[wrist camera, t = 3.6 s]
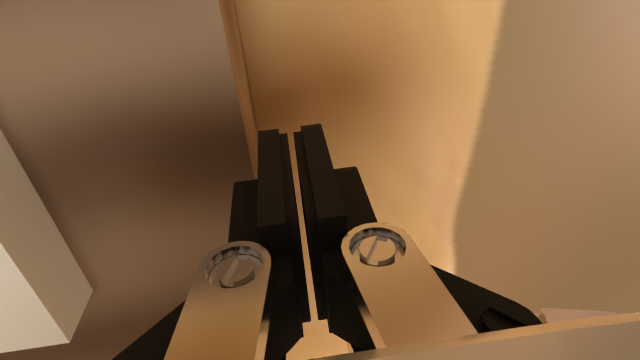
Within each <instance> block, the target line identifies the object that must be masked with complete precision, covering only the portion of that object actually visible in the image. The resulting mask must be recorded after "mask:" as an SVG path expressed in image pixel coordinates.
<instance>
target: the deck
mask: <svg viewBox="0 0 640 360" xmlns="http://www.w3.org/2000/svg"><path fill="white" fill-rule="evenodd" d="M0 129H1V131H2V132H3V134H4V136H5V138H6V139H7V141H8V143H9V145H10V146H11V148H12V150H13V152H14V153H15V155H16V157H17V159H18V160H19V162H20V164H21V166H22V167H23V169H24V171H25V173H26V174H27V176H28V178H29V180H30V181H31V183H32V185H33V187H34V188H35V190H36V192H37V193H38V195H39V197H40V199H41V200H42V202H43V204H44V206H45V207H46V209H47V211H48V213H49V214H50V216H51V218H52V220H53V221H54V223H55V225H56V227H57V228H58V230H59V232H60V234H61V235H62V237H63V239H64V241H65V242H66V244H67V246H68V248H69V249H70V251H71V253H72V254H73V256H74V258H75V260H76V261H77V263H78V265H79V267H80V268H81V270H82V272H83V274H84V275H85V277H86V279H87V281H88V282H89V284H90V286H91V288H92V289H93V291H92V294H91V296H90V298H89V300H88V303H87V305H86V307H85V309H84V312H83V314H82V316H81V318H80V321H79V323H78V325H77V327H76V330H75V332H74V334H73V336H72V339H71V341H70V343H65V344H58V345H51V346H45V347H38V348H31V349H25V350H18V351H11V352H4V353H0V360H112V359H113V358H114V357H115V356H117V355H118V354H119V353H120V352H122V351H123V350H124V349H125V348H127V347H128V346H129V345H130V344H132V343H133V342H134V341H135V340H137V339H138V338H139V337H140V336H141V335H143V334H144V333H145V332H146V331H148V330H149V329H150V328H151V327H153V326H154V325H155V324H156V323H158V322H159V321H160V320H161V319H163V318H164V317H165V316H166V315H168V314H169V313H170V312H171V311H173V310H174V309H175V308H176V307H177V306H179V305H180V304H181V303H182V302H184V301H185V300H186V299H187V296H188V293H189V291H190V288H191V285H192V283H193V280H194V277H195V275H196V272H197V269H198V267H199V265H200V263H201V262H202V260H203V259H204V258H205V257H206V256H207V255H208V254H209V253H210V252H211V251H213V250H214V249H216V248H218V247H219V246H221V245H224V244H227V243H228V235H229V225H230V215H231V205H232V195H233V186H234V182H238V181H246V180H254V179H257V175H258V130H257V124H256V119H255V113H254V108H253V102H252V97H251V91H250V86H249V80H248V75H247V69H246V64H245V58H244V53H243V47H242V42H241V36H240V31H239V25H238V20H237V14H236V9H235V3H234V0H0Z"/></svg>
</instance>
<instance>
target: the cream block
mask: <svg viewBox="0 0 640 360" xmlns="http://www.w3.org/2000/svg"><path fill="white" fill-rule="evenodd" d="M92 291H93V289H92V288H91V286H90V284H89V282H88V281H87V279H86V277H85V275H84V274H83V272H82V270H81V268H80V267H79V265H78V263H77V261H76V260H75V258H74V256H73V254H72V253H71V251H70V249H69V248H68V246H67V244H66V242H65V241H64V239H63V237H62V235H61V234H60V232H59V230H58V228H57V227H56V225H55V223H54V221H53V220H52V218H51V216H50V214H49V213H48V211H47V209H46V207H45V206H44V204H43V202H42V200H41V199H40V197H39V195H38V193H37V192H36V190H35V188H34V187H33V185H32V183H31V181H30V180H29V178H28V176H27V174H26V173H25V171H24V169H23V167H22V166H21V164H20V162H19V160H18V159H17V157H16V155H15V153H14V152H13V150H12V148H11V146H10V145H9V143H8V141H7V139H6V138H5V136H4V134H3V132H2V131H1V129H0V353H4V352H11V351H18V350H25V349H31V348H38V347H45V346H51V345H58V344H65V343H70V341H71V339H72V336H73V334H74V332H75V330H76V327H77V325H78V323H79V321H80V318H81V316H82V314H83V312H84V309H85V307H86V305H87V303H88V300H89V298H90V296H91V294H92Z"/></svg>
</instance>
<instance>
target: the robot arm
mask: <svg viewBox="0 0 640 360" xmlns="http://www.w3.org/2000/svg"><path fill="white" fill-rule="evenodd" d="M293 133H294V141H295V149H296V158H297V166H298V174H299V182H300V190H301V198H302V206H303V214H304V221H305V229H306V236H307V243H308V250H309V257H310V264H311V271H312V278H313V285H314V292H315V299H316V306H317V313H318V320H324V319H327V321H328V327H329V333H334V334H335V335H337V336H338V337H340V338H342V339H343V340H345V341H346V342H347V346H348V351H349V353H348V354H341V355H335V356H328V357H322V358H316V359H309V360H640V313H635V312H615V311H594V310H593V311H592V310H571V309H551V308H542V309H541V312H540V314H534V313H532V312H531V311H530V310H529V309H527V308H526V307H524V306H522V305H520V304H518V303H516V302H515V301H512V300H510V299H508V298H505V297H503V296H501V295H499V294H496V293H494V292H492V291H489V290H487V289H485V288H483V287H480V286H478V285H476V284H473V283H471V282H469V281H467V280H464V279H462V278H460V277H457V276H455V275H453V274H451V273H448V272H446V271H444V270H441V269H439V268H437V267H434V266H432V265H430V264H429V263H428V261H427V260H426V258H425V257H424V256H423V254H422V253H421V251H420V250H419V248H418V247H417V246H416V244H415V243H414V241H413V240H412V239H411V237H410V236H409V235H408V234H407V233H406V232H405V231H404V230H402V229H400V228H398V227H396V226H394V225H390V224H387V223H377V220H376V217H375V215H374V212H373V209H372V207H371V204H370V201H369V199H368V196H367V193H366V191H365V188H364V185H363V183H362V180H361V177H360V175H359V172H358V170H357V168H356V167H347V168H339V169H333V165H332V162H331V158H330V155H329V151H328V148H327V144H326V140H325V137H324V133H323V130H322V126H321V124H315V125H306V126H301V132H293ZM310 321H311V316H310V308H309V300H308V292H307V284H306V276H305V268H304V260H303V252H302V243H301V235H300V227H299V219H298V212H297V204H296V197H295V189H294V182H293V174H292V167H291V159H290V152H289V144H288V137H287V133H285V134H279V130H278V129H274V130H265V131H258V175H257V179H254V180H246V181H238V182H234V186H233V195H232V205H231V215H230V225H229V235H228V243H227V244H224V245H221V246H219V247H218V248H216V249H214V250H213V251H211V252H210V253H209V254H208V255H207V256H206V257H205V258H204V259H203V260H202V262H201V263H200V265H199V267H198V269H197V272H196V275H195V277H194V280H193V283H192V285H191V288H190V291H189V293H188V296H187V299H186V300H185V301H184V302H182V303H181V304H180V305H179V306H177V307H176V308H175V309H174V310H173V311H171V312H170V313H169V314H168V315H166V316H165V317H164V318H163V319H161V320H160V321H159V322H158V323H156V324H155V325H154V326H153V327H151V328H150V329H149V330H148V331H146V332H145V333H144V334H143V335H141V336H140V337H139V338H138V339H137V340H135V341H134V342H133V343H132V344H130V345H129V346H128V347H127V348H125V349H124V350H123V351H122V352H120V353H119V354H118V355H117V356H115V357H114V358H113V359H112V360H290V353H289V350H290V349H291V348H292V347H293V346H294V345H295V344H296V343H297V342H298V340H299V339H300V338H301V337H304V335H303V325H302V323H304V322H310Z"/></svg>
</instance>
